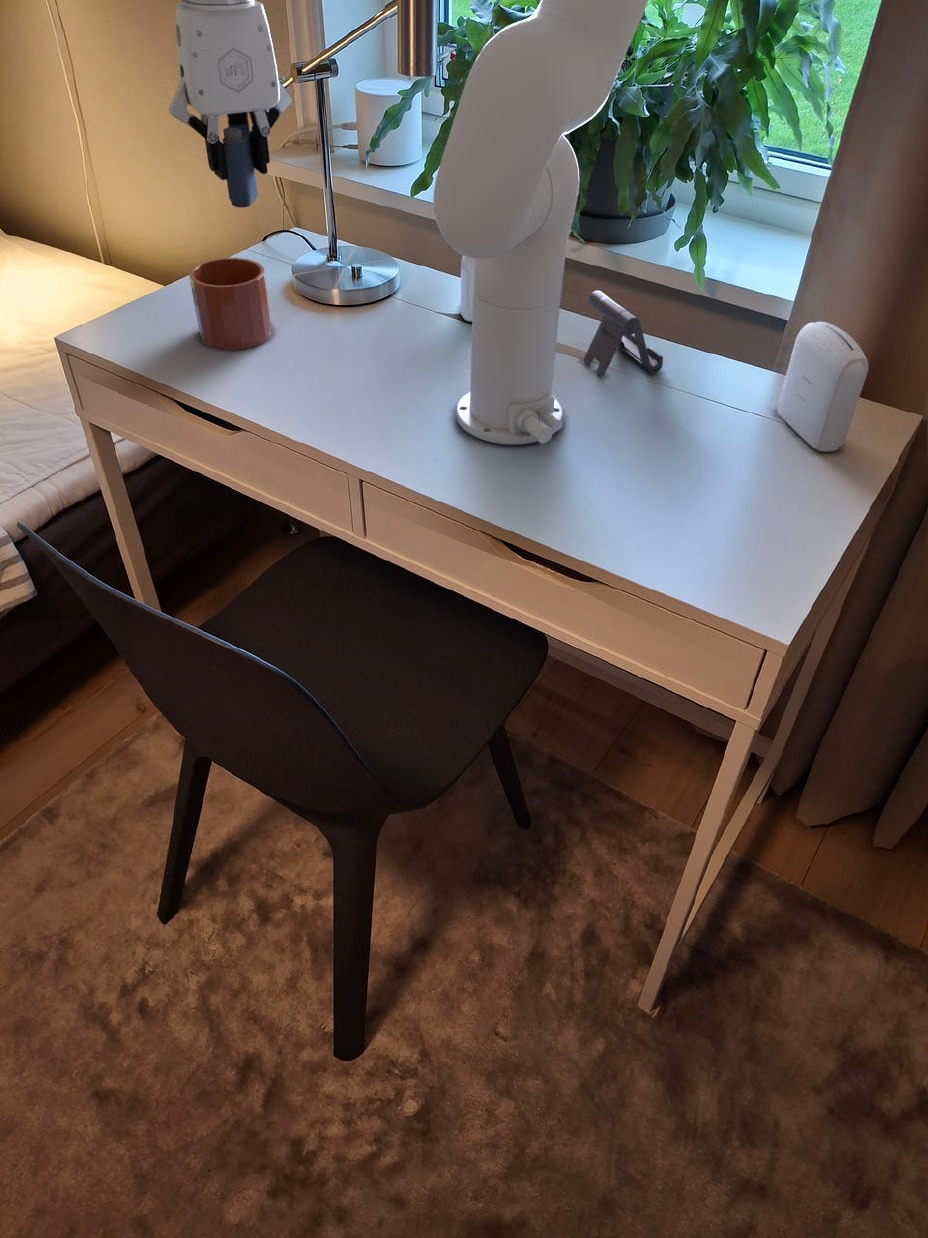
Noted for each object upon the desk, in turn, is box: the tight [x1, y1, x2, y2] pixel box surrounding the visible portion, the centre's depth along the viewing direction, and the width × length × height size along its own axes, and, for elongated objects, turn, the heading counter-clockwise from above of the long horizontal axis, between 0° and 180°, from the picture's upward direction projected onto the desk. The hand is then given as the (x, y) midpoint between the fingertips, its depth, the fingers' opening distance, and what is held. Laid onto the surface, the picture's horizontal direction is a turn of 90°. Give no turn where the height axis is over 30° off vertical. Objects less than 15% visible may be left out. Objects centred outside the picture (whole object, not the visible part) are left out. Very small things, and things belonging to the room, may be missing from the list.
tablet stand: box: [583, 290, 664, 377], centre depth 118 cm, size 9×8×8 cm
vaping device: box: [222, 112, 258, 208], centre depth 107 cm, size 3×5×12 cm, turn 174°
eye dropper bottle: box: [459, 255, 475, 322], centre depth 127 cm, size 4×6×12 cm
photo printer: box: [777, 321, 869, 452], centre depth 106 cm, size 10×4×12 cm, turn 14°
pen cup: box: [189, 257, 273, 351], centre depth 122 cm, size 9×9×8 cm
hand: (240, 171), depth 109 cm, fingers closed on vaping device, 4 cm apart
